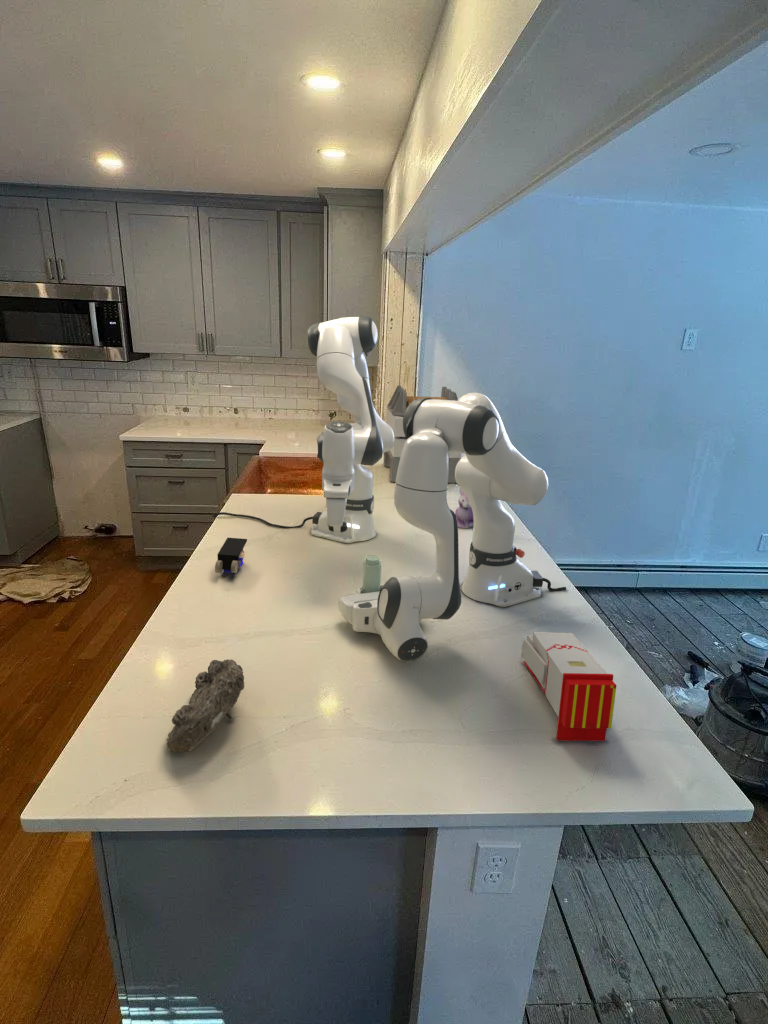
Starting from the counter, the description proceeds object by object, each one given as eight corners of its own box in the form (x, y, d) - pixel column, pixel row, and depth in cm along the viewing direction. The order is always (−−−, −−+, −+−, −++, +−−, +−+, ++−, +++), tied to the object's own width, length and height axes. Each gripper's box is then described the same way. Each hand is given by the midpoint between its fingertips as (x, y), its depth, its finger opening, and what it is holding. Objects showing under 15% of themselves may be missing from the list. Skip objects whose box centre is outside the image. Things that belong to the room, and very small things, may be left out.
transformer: (382, 463, 289) (386, 382, 275) (445, 464, 293) (451, 384, 279) (390, 482, 257) (394, 392, 243) (460, 483, 261) (468, 394, 247)
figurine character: (238, 584, 162) (249, 557, 175) (236, 562, 158) (247, 536, 172) (215, 584, 161) (227, 556, 175) (212, 561, 158) (225, 535, 171)
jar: (369, 614, 147) (371, 563, 142) (358, 606, 150) (360, 556, 145) (382, 608, 150) (385, 558, 145) (372, 601, 153) (374, 552, 148)
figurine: (462, 530, 205) (466, 491, 200) (446, 521, 213) (450, 483, 208) (483, 527, 209) (487, 488, 204) (467, 518, 218) (471, 480, 213)
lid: (348, 526, 161) (348, 521, 160) (346, 533, 156) (346, 527, 155) (329, 525, 161) (329, 520, 160) (327, 532, 156) (327, 526, 155)
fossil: (192, 660, 117) (244, 628, 112) (224, 691, 120) (276, 661, 115) (142, 746, 98) (202, 712, 93) (182, 779, 101) (242, 748, 96)
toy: (568, 616, 131) (626, 681, 101) (562, 669, 133) (617, 748, 104) (515, 615, 130) (559, 680, 101) (511, 669, 133) (551, 747, 104)
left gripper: (330, 472, 164) (330, 517, 168) (323, 493, 144) (323, 543, 149) (352, 473, 164) (351, 518, 168) (347, 494, 144) (347, 544, 149)
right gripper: (428, 597, 139) (407, 573, 151) (348, 608, 132) (333, 582, 145) (426, 620, 141) (406, 594, 154) (347, 632, 135) (332, 604, 147)
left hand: (338, 530), depth 158 cm, fingers closed on lid, 5 cm apart
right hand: (370, 589), depth 149 cm, fingers closed on jar, 4 cm apart
